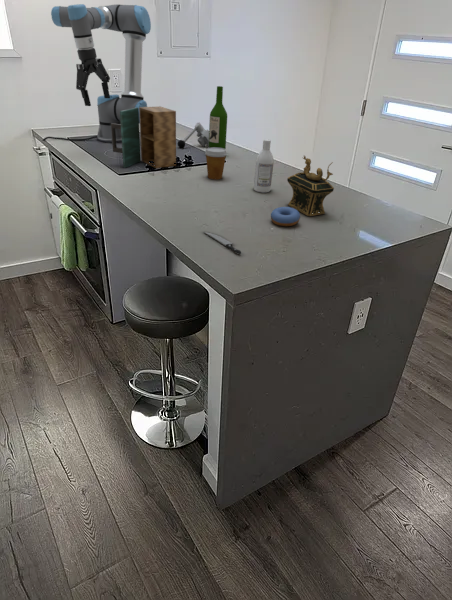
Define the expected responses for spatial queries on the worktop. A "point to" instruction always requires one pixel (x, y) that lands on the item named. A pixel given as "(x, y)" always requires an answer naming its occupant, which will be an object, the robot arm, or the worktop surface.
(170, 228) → the worktop surface
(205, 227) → the worktop surface
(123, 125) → the door
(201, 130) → the mechanical valve
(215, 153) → the disposable coffee cup
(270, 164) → the bath foam
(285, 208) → the doughnut
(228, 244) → the chef's knife
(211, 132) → the wine bottle
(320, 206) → the decorative box
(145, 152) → the cabinet
